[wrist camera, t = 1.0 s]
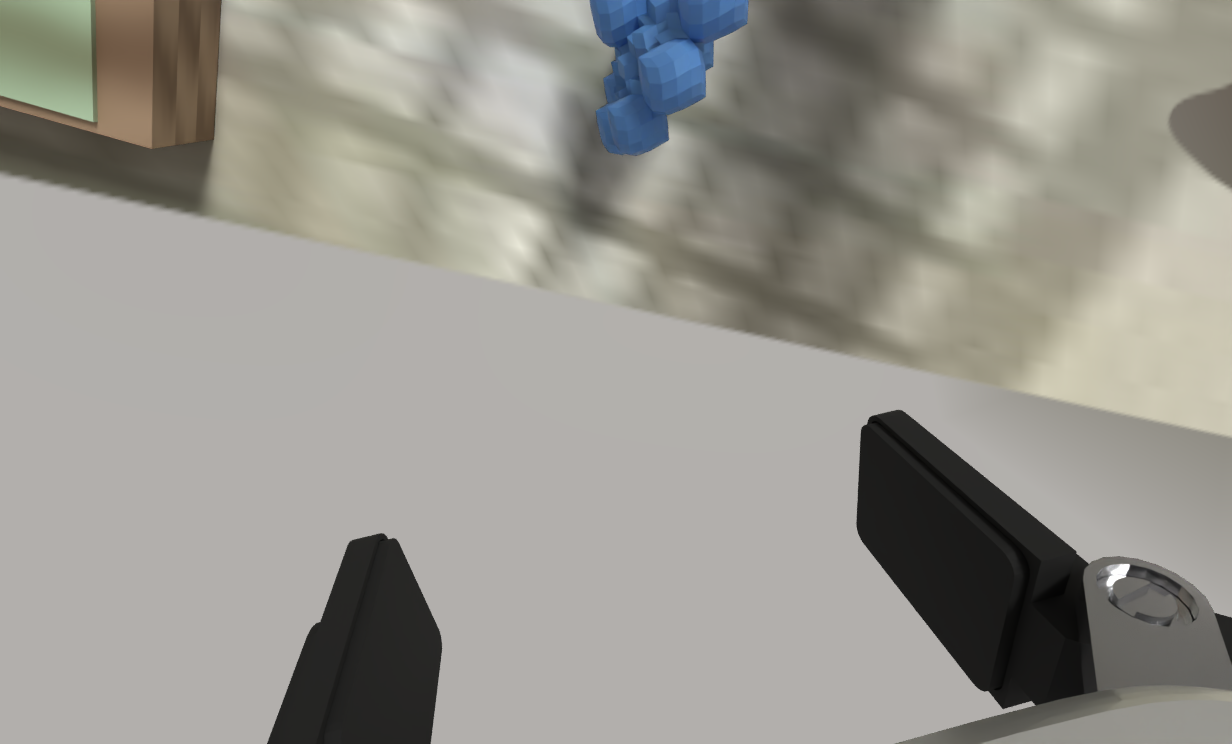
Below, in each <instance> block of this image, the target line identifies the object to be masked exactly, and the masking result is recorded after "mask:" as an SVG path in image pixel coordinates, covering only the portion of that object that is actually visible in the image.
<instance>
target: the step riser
mask: <svg viewBox="0 0 1232 744" xmlns="http://www.w3.org/2000/svg"><path fill="white" fill-rule="evenodd" d="M220 12H221V0H0V106H2V107H5V108H9V109H12V110H16V111H19V112H23V113H27V114H30V115H34V116H37V117H41V118H44V119H48V120H51V121H55V122H58V123H62V124H65V125H69V126H73V127H76V128H80V129H83V130H87V131H90V132H94V133H97V134H101V135H104V136H108V137H111V138H115V139H118V140H122V141H126V142H129V143H133V144H136V145H140V146H143V147H147V148H150V149H154V148H161V147H167V146H174V145H180V144H187V143H194V142H200V141H207V140H213V139H214V125H215V106H216V87H217V68H218V50H219V31H220Z"/></svg>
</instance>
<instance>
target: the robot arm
mask: <svg viewBox="0 0 1232 744" xmlns="http://www.w3.org/2000/svg"><path fill="white" fill-rule="evenodd" d="M858 485H859V486H858V503H857V530H858V534H859V536H860V538H861V540H862V542H863V543H864V545H865V546H866V547H867V548H868V550H869V551H870V552H871V554H872V555H873V556H874V557H875V559H876V560H877V561H878V562H879V564H880V565H881V566H882V568H883V569H884V570H885V571H886V573H887V574H888V575H889V576H890V578H891V579H892V580H893V582H894V583H895V584H896V585H897V587H898V588H899V589H900V591H901V592H902V593H903V594H904V596H905V597H906V598H907V599H908V601H909V602H910V603H911V605H912V606H913V607H914V608H915V610H916V611H917V612H918V613H919V615H920V616H921V617H922V619H923V620H924V621H925V622H926V624H927V625H928V626H929V627H930V629H931V630H932V631H933V633H934V634H935V635H936V636H937V638H938V639H939V640H940V642H941V643H942V644H943V645H944V647H945V648H946V649H947V651H948V652H949V653H950V654H951V656H952V657H953V658H954V659H955V661H956V662H957V663H958V665H959V666H960V667H961V668H962V670H963V671H964V672H965V673H966V675H967V676H968V677H969V678H970V680H971V681H972V682H973V684H975V686H976V687H977V688H979V689H980V690H982V691H989V692H990V693H991V695H992V696H993V697H994V699H995V700H996V701H997V702H998V704H999V705H1000V706H1001V707H1002V709H1005V708H1008V707H1012V706H1015V705H1018V704H1022V703H1026V702H1029V701H1032V702H1033V703H1034V704H1035V705H1036V706H1032V707H1029V708H1025V709H1021V710H1017V711H1013V712H1009V713H1006V714H1002V715H997V716H994V717H990V718H986V719H982V720H978V721H975V722H971V723H967V724H964V725H960V726H957V727H953V728H949V729H946V730H942V731H939V732H935V733H931V734H928V735H924V736H921V737H917V738H914V739H910V740H906V741H903V742H899V743H896V744H1232V618H1231V617H1227V616H1224V615H1220V614H1217V613H1214V611H1213V609H1212V607H1211V605H1210V604H1209V602H1208V600H1207V598H1206V597H1205V596H1204V595H1203V594H1202V593H1201V592H1200V591H1199V590H1198V589H1197V588H1196V587H1195V586H1194V585H1193V584H1191V583H1190V582H1188V581H1186V580H1185V579H1184V578H1182V577H1180V576H1179V575H1178V574H1176V573H1174V572H1172V571H1169V570H1167V569H1165V568H1163V567H1161V566H1159V565H1156V564H1153V563H1149V562H1146V561H1143V560H1139V559H1134V558H1127V557H1120V556H1118V557H1103V558H1100V559H1098V560H1095V561H1092V562H1091V563H1090V564H1088V563H1087V562H1086V561H1085V560H1083V559H1082V558H1081V557H1080V556H1079V555H1077V554H1076V551H1075V550H1074V549H1073V548H1071V547H1070V546H1069V545H1068V544H1066V543H1065V542H1064V541H1063V540H1061V539H1060V538H1059V537H1058V536H1057V535H1055V534H1054V533H1053V532H1052V531H1051V530H1049V529H1048V528H1047V527H1046V526H1044V525H1043V524H1042V523H1041V522H1039V521H1038V520H1037V519H1036V518H1034V517H1033V516H1032V515H1031V514H1030V513H1028V512H1027V511H1026V510H1025V509H1023V508H1022V507H1021V506H1020V505H1018V504H1017V503H1016V502H1015V501H1014V500H1012V499H1011V498H1010V497H1009V496H1007V495H1006V494H1005V493H1004V492H1002V491H1001V490H1000V489H999V488H998V487H996V486H995V485H994V484H993V483H991V482H990V481H989V480H988V479H986V478H985V477H984V476H983V475H981V474H980V473H979V472H978V471H977V470H975V469H974V468H973V467H972V466H970V465H969V464H968V463H967V462H965V461H964V460H963V459H961V457H959V456H958V455H957V454H956V453H954V452H953V451H952V450H950V449H949V448H948V447H947V446H946V445H944V444H943V443H942V442H941V441H940V440H938V439H937V438H936V437H935V436H933V435H932V434H931V433H930V432H928V431H927V430H926V429H925V428H924V427H922V426H921V425H920V424H918V423H917V422H916V421H915V420H914V419H912V418H911V417H910V416H909V415H907V414H906V413H905V412H903V411H902V410H895V411H891V412H887V413H882V414H878V415H874V416H871V417H870V418H869V420H868V423H867V425H864V426H863V427H862V429H861V441H860V463H859V482H858ZM441 653H442V642H441V635H440V631H439V629H438V627H437V624H436V622H435V620H434V618H433V616H432V614H431V611H430V609H429V607H428V605H427V603H426V601H425V598H424V597H423V594H422V592H421V590H420V588H419V586H418V583H417V581H416V579H415V577H414V575H413V572H412V570H411V568H410V566H409V564H408V562H407V559H406V557H405V555H404V553H403V551H402V549H401V547H400V544H399V542H398V541H397V540H396V539H394V538H392V539H388V538H387V536H386V535H385V534H382V533H381V534H376V535H372V536H368V537H363V538H360V539H355V540H352V541H351V542H350V543H349V544H348V546H347V549H346V552H345V555H344V557H343V560H342V563H341V566H340V568H339V571H338V574H337V577H336V580H335V583H334V585H333V588H332V591H331V594H330V596H329V600H328V602H327V605H326V608H325V611H324V613H323V616H322V619H321V622H319V623H316V624H315V625H314V626H313V627H312V628H311V630H310V632H309V634H308V636H307V638H306V641H305V643H304V646H303V649H302V651H301V654H300V657H299V659H298V662H297V665H296V667H295V670H294V673H293V676H292V678H291V681H290V684H289V686H288V689H287V692H286V695H285V697H284V700H283V703H282V705H281V708H280V711H279V713H278V716H277V719H276V721H275V724H274V727H273V729H272V732H271V735H270V737H269V741H268V743H267V744H431V736H432V727H433V719H434V711H435V702H436V695H437V686H438V677H439V670H440V662H441Z"/></svg>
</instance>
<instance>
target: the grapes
mask: <svg viewBox="0 0 1232 744" xmlns="http://www.w3.org/2000/svg"><path fill="white" fill-rule="evenodd" d="M590 6H591V11H592V16H593V20H594V24H595V28H596V32H597V35H598V36H599V38H600V39H601V40H602V41H603V43H605V44H606V45H607V46H609V47H615V55H616V60H615V61H612V62H611V64H612V68H613V73H612V74H610V75H608V76H607V77H605V78H604V87H605V93H606V98H607V102H608V104H606V105H605V106H603V107H601V108H600V109H598V110H596V117H597V124H598V128H599V132H600V137H601V140H602V143H603V145H604V146H605V148H606V149H607V151H608V152H610V153H613V154H619V155H624V154H628V155H634V156H637V155H640V154H643V153H646V152H648V151H650V150H652V149H654V148H656V147H658V146H660V145H661V144H663V143H665V142H666V141H668V140H669V136H668V122H667V115H670V114H672V113H675V112H677V111H680V110H683V109H685V108H687V107H689V106H691V105H693V104H695V103H696V102H698V101H700V100H701V99H703V98H705V97H706V72H705V71H706V70H708V69H710V68H711V67H713V55H714V44H713V41H714V40H717V39H719V38H721V37H723V36H726V35H728V34H730V33H732V32H734V31H736V30H737V29H739V28H741V27H742V26H744V25H746V24H747V17H748V0H590Z"/></svg>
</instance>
